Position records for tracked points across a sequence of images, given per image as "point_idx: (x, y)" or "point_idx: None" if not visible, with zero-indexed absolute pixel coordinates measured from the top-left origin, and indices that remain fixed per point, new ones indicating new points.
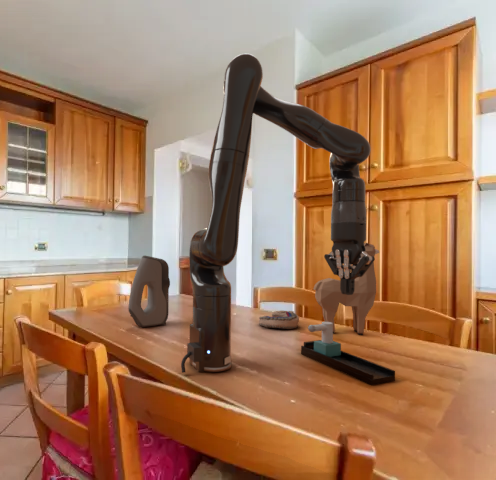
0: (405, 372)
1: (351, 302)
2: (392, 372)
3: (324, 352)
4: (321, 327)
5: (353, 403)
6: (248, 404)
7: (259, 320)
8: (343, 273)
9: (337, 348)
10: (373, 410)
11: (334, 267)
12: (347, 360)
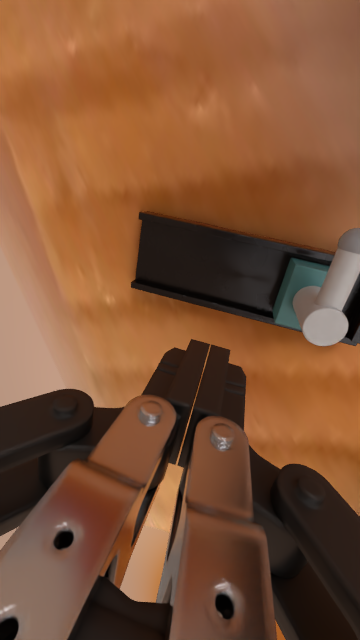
0: (153, 344)
1: None
2: (134, 280)
3: (297, 260)
4: (326, 280)
5: (111, 65)
6: None
7: None
8: (190, 455)
9: (277, 305)
10: (75, 78)
11: (333, 566)
12: (242, 289)
